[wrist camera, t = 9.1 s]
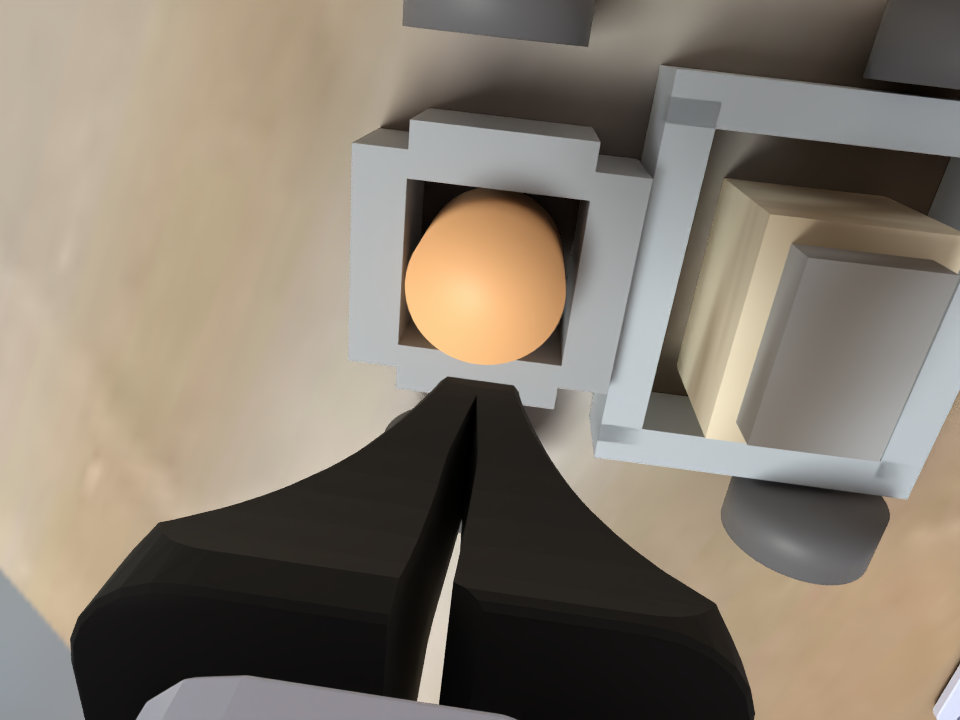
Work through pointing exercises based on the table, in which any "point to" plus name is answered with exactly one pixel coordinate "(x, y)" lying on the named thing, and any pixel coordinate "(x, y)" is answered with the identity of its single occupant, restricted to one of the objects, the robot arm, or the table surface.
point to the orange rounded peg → (488, 277)
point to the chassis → (662, 262)
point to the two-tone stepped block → (813, 317)
